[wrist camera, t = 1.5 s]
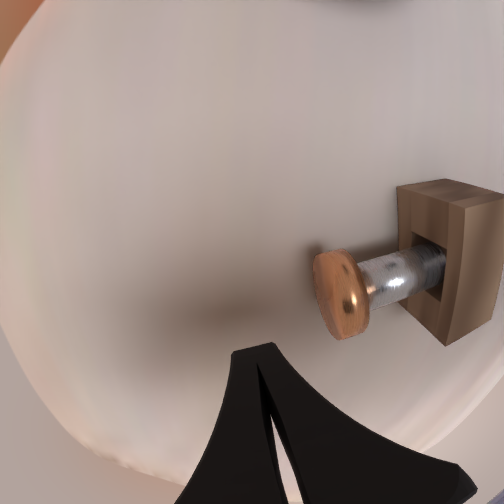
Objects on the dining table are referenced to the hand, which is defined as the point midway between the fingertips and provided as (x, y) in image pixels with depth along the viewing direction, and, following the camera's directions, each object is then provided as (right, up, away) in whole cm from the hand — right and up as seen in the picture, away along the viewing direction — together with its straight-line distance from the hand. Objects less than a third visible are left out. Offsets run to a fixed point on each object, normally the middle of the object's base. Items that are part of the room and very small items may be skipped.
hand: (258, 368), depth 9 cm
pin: (+6, +3, +5) cm, 8 cm away
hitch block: (+10, +4, +6) cm, 12 cm away
